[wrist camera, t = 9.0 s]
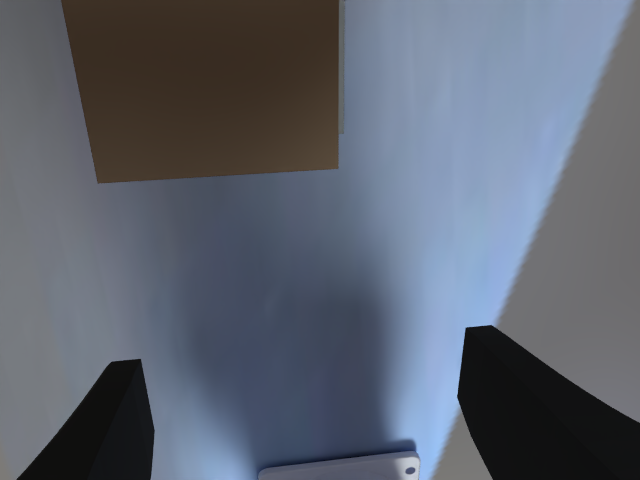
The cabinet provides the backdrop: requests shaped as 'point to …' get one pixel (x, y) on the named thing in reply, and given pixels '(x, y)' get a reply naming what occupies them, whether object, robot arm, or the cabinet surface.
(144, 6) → the walnut block
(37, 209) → the cabinet surface
